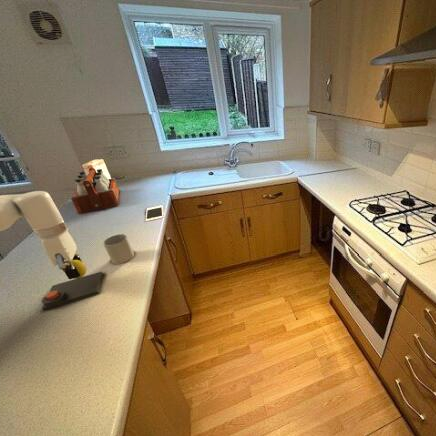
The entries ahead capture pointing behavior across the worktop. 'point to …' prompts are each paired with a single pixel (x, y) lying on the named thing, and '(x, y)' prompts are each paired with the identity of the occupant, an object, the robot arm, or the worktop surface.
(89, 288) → the scale
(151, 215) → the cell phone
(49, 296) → the tare button
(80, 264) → the lemon
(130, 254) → the cup
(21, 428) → the worktop surface
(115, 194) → the milk bottle holder
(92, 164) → the coffeecake box
